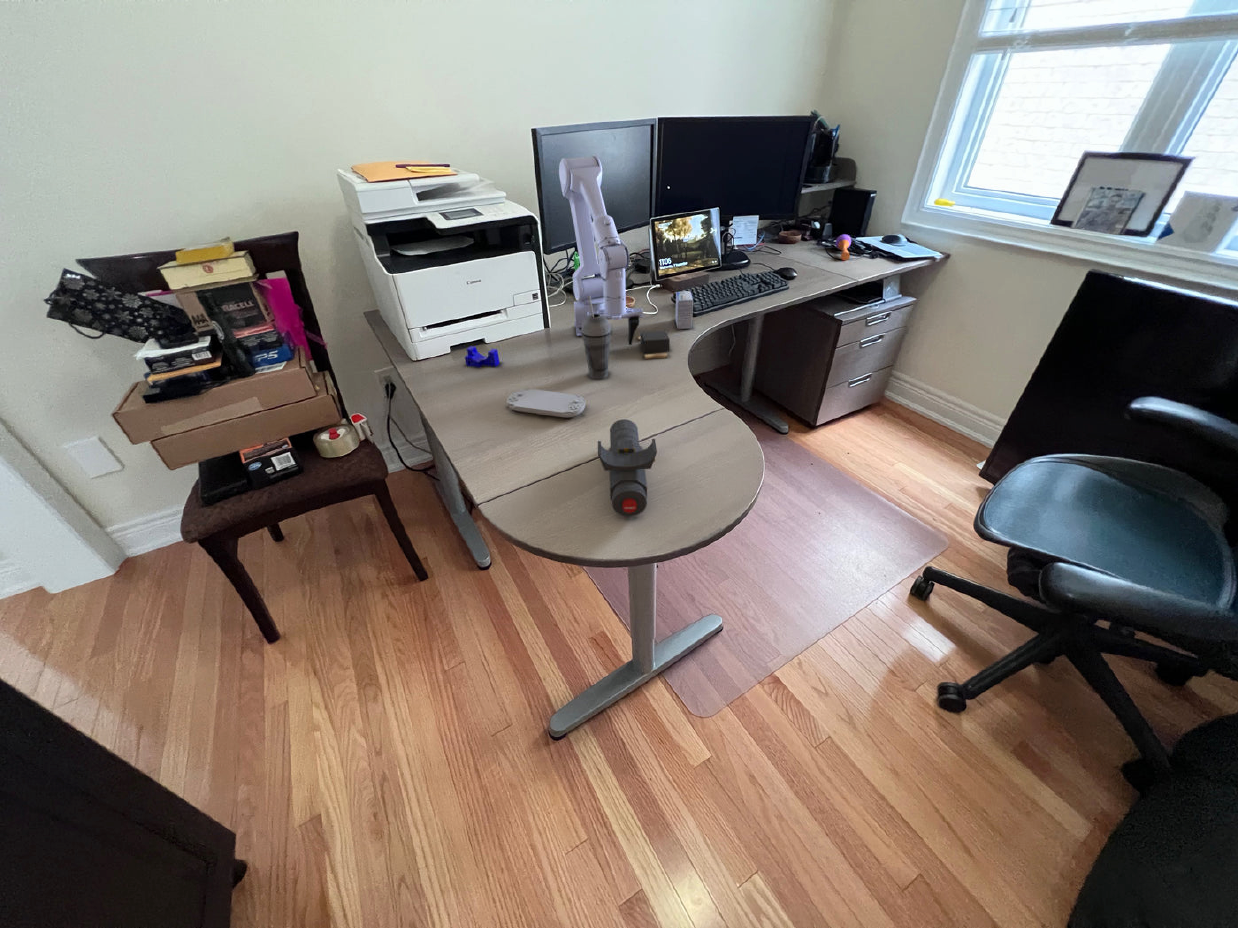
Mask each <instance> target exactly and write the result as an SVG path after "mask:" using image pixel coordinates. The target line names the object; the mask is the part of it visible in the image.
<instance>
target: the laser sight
mask: <svg viewBox="0 0 1238 928" xmlns="http://www.w3.org/2000/svg"><path fill="white" fill-rule="evenodd" d="M639 438H640V437H639V428H638V426H637V424H636V422H634V421H632V420H630V419H626V418H625V419H618V420H617V421H614V422H613V424H611V426H610V428H609V442H610V447H609V448H608V449H606V448H605V447H604V446H603V445H602V440H598V441H597V456H598V458H599V460H600V464H601V465H602V468H603V470H604V471H606V472H607V471H608V472H609V495H610V496H609V497H610V501H611V507H612V509H613V511H614V512H615V513H616V514H618V515H620V516H623V517H634V516H637V515H639V514H641V513H642V512H643V511H645V510H646V508H647V505H648V484H647V476H646V470H651V469H652V467H653V464H654V463H655V462H656V456H657V453H658V449H657V443H656V438H651V444H650V445H649V446H647V447H646V448H645V449H643V447H642V446H641V445H640V439H639Z"/></svg>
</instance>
